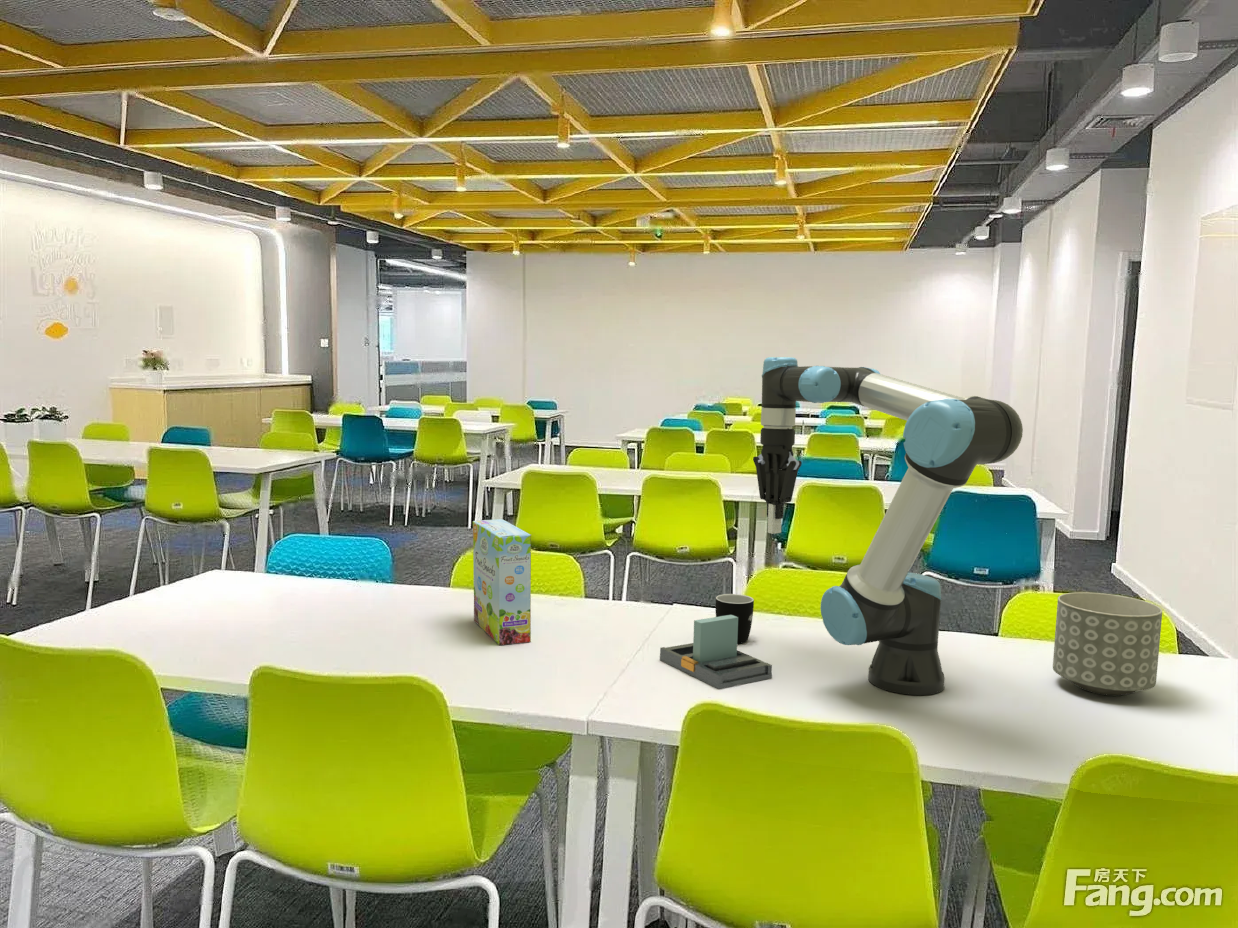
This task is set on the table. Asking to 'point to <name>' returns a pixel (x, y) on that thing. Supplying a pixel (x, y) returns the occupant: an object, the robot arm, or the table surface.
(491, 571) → the snack box
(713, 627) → the block
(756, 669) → the rack
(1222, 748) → the table surface
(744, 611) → the mug
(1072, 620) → the planter
